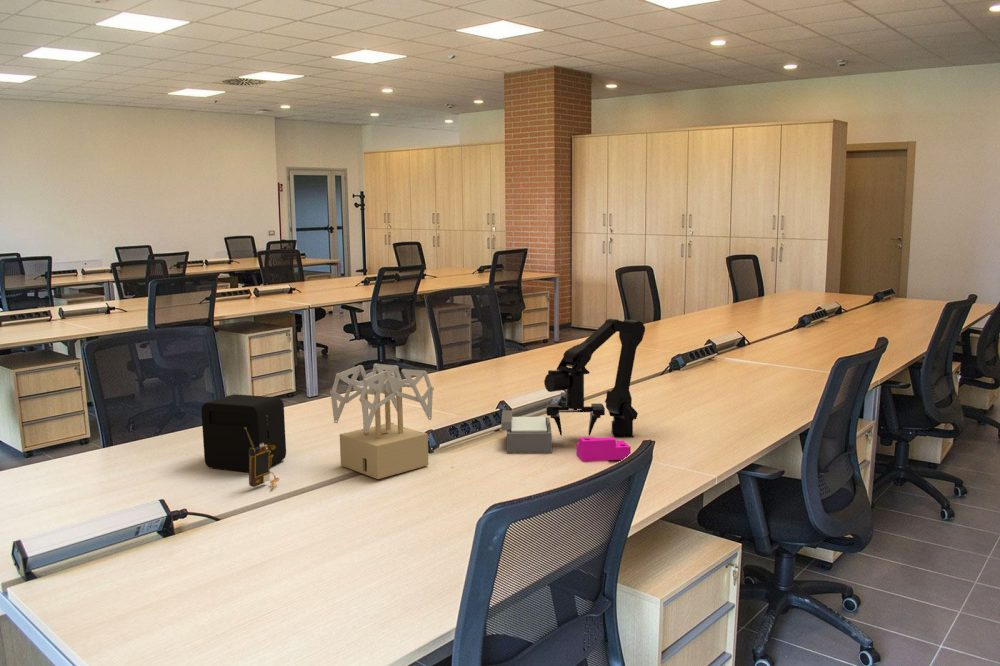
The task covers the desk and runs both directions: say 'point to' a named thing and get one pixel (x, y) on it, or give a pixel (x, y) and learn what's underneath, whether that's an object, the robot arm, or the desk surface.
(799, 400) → the desk surface
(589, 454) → the magenta saddle bracket
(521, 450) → the hatch box
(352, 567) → the desk surface
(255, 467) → the walkie talkie
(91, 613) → the desk surface
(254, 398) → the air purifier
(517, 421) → the trapdoor
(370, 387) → the kinetic sculpture
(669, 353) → the desk surface
